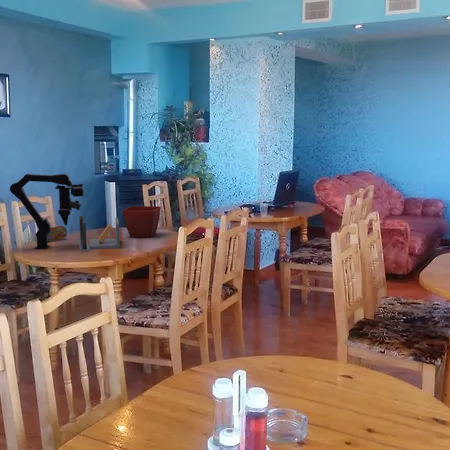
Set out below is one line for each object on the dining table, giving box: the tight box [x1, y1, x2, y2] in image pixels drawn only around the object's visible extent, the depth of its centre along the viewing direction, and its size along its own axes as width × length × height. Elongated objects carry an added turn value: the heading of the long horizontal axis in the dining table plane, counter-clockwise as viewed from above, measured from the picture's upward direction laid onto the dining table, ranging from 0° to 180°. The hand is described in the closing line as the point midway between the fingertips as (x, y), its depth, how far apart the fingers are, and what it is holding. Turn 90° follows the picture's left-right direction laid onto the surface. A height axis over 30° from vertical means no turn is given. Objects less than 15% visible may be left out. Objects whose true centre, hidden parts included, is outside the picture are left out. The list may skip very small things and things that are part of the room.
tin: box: [46, 225, 68, 243], centre depth 354 cm, size 15×3×8 cm, turn 143°
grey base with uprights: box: [89, 217, 121, 250], centre depth 339 cm, size 16×22×14 cm
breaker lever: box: [98, 223, 114, 243], centre depth 339 cm, size 2×5×11 cm
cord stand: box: [77, 214, 91, 253], centre depth 337 cm, size 5×32×15 cm, turn 16°
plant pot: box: [121, 205, 162, 238], centre depth 367 cm, size 19×19×17 cm
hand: (65, 225), depth 334 cm, fingers closed
